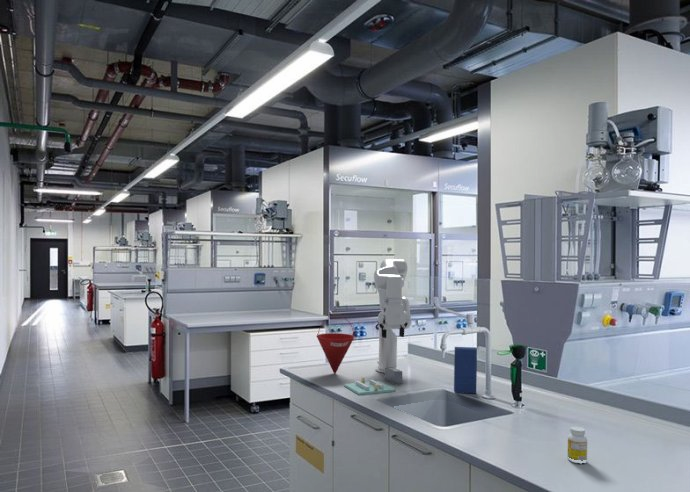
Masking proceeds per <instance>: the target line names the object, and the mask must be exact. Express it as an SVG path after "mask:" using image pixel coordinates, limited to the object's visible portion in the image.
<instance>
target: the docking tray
mask: <svg viewBox="0 0 690 492" xmlns="http://www.w3.org/2000/svg"><path fill="white" fill-rule="evenodd" d="M365 379H366V378H365V377H364V376H362V377H361V379H360V381H359V380H356V381H355V382H351V383H344V384H343V387H344V388H347V390H350V391H352V392H354V393H355V394H357V395H359V396H363V395H373V394H382V393H392V392H393V393H394V392H396V388H394V387H392V386H390V385H388V384H386V383H384V382H382V381H379V380H374V379H369V381H366V380H365Z"/></svg>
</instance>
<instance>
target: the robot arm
mask: <svg viewBox="0 0 690 492" xmlns="http://www.w3.org/2000/svg"><path fill="white" fill-rule="evenodd" d="M407 272H408V263H407V262H406V260H404V259H400V258H399V259H397V258H396V259H395V258H394V259H393V258H392V259H391V258H387V259H384V260H382V262H381V263H380V267H379V268H378V269H376V270H375V271H374V273H373V280H374V285H375V288H376V291H377V293H378V297H379V298H378V299H379V301H378V302H379V309H380V312H379V313H378V315H377V319H376V321H377V325H378V361H376V362H377V364H378V366H376V367H375V371H376V372H378V373H382V374H385V368H387V367H393V368H395V369H398V370H400V368H399V367H397V364H398V363H397V359H398V357H397V356H398V338H397V335H396V333H395V332H394V331H393V330H399V333H398V334H399V335H398V336H399V337H402V338H404V337H405V330H408V329H410V327H411V325H412V317H411V310H410V309H411V308H410V302H409V299H408V298H407V297H406V296H402V289H403V287H404V286H405V285H404V284H405V280H406V277H407V274H408V273H407Z"/></svg>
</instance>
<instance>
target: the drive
mask: <svg viewBox="0 0 690 492" xmlns="http://www.w3.org/2000/svg"><path fill="white" fill-rule="evenodd" d="M384 381H386V382H389V383H390V384H393V385H403V371H402V370H400V369H399V370H398V369H395V368H393V367H387V368H385V373H384Z"/></svg>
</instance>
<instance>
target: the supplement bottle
mask: <svg viewBox="0 0 690 492" xmlns="http://www.w3.org/2000/svg"><path fill="white" fill-rule="evenodd" d="M569 430H570V434H568V435H567V458H568V457H569V458H571V459H574V460H581V461H583V460H587V461H588V438H587V437H586V436H585V435H586V430H585V428H583V427H580V426H570V428H569Z"/></svg>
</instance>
